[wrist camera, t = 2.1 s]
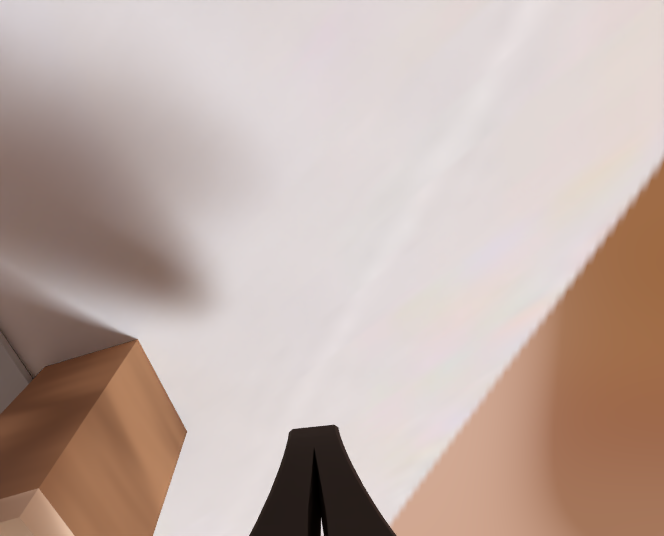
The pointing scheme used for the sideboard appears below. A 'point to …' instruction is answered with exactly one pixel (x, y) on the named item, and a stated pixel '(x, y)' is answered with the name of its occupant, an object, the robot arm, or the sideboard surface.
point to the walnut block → (89, 448)
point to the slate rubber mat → (10, 374)
